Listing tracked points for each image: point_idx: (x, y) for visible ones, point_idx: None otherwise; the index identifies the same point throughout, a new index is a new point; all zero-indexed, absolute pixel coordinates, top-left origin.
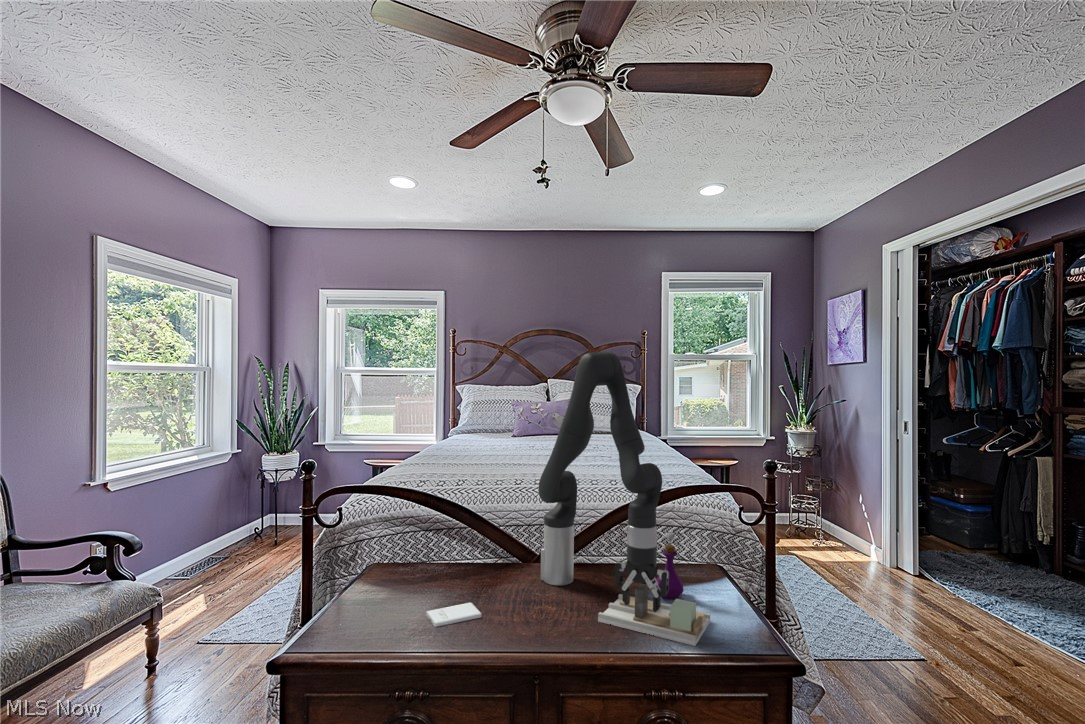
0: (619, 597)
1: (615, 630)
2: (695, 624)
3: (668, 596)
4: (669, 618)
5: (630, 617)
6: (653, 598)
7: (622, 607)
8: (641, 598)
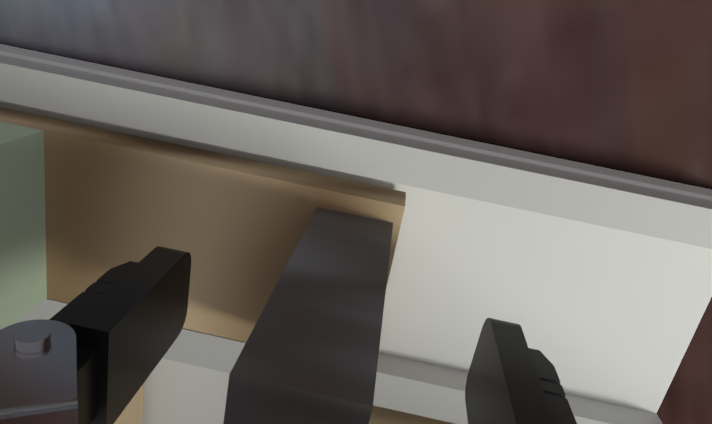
0: None
1: (554, 72)
2: None
3: None
4: None
5: (445, 293)
6: (109, 320)
7: None
8: (281, 306)
